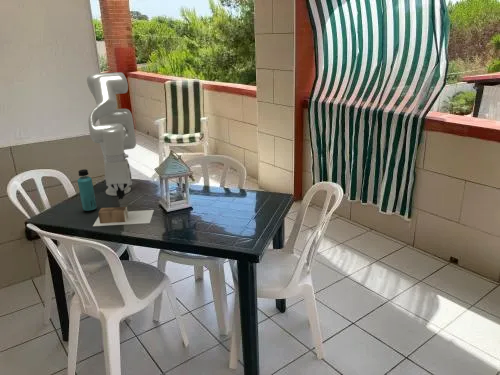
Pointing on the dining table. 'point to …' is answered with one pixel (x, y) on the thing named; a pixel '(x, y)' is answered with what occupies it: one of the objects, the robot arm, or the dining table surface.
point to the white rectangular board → (131, 218)
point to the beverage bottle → (86, 191)
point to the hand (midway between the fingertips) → (121, 197)
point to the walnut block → (113, 215)
